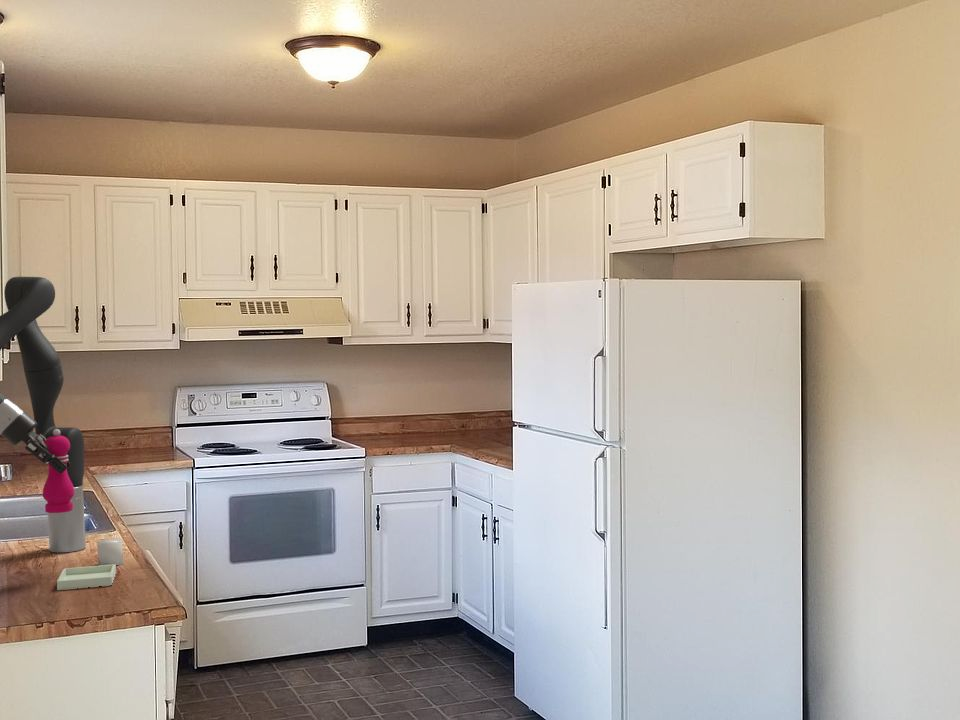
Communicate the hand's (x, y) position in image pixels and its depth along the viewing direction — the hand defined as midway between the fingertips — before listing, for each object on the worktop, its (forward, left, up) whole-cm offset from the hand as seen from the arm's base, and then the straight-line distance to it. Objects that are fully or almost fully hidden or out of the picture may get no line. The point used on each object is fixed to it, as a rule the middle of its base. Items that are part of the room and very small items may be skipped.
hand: (65, 468), depth 262 cm
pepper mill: (0, -2, -10) cm, 11 cm away
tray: (+8, +5, -26) cm, 28 cm away
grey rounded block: (-9, +9, -26) cm, 29 cm away
